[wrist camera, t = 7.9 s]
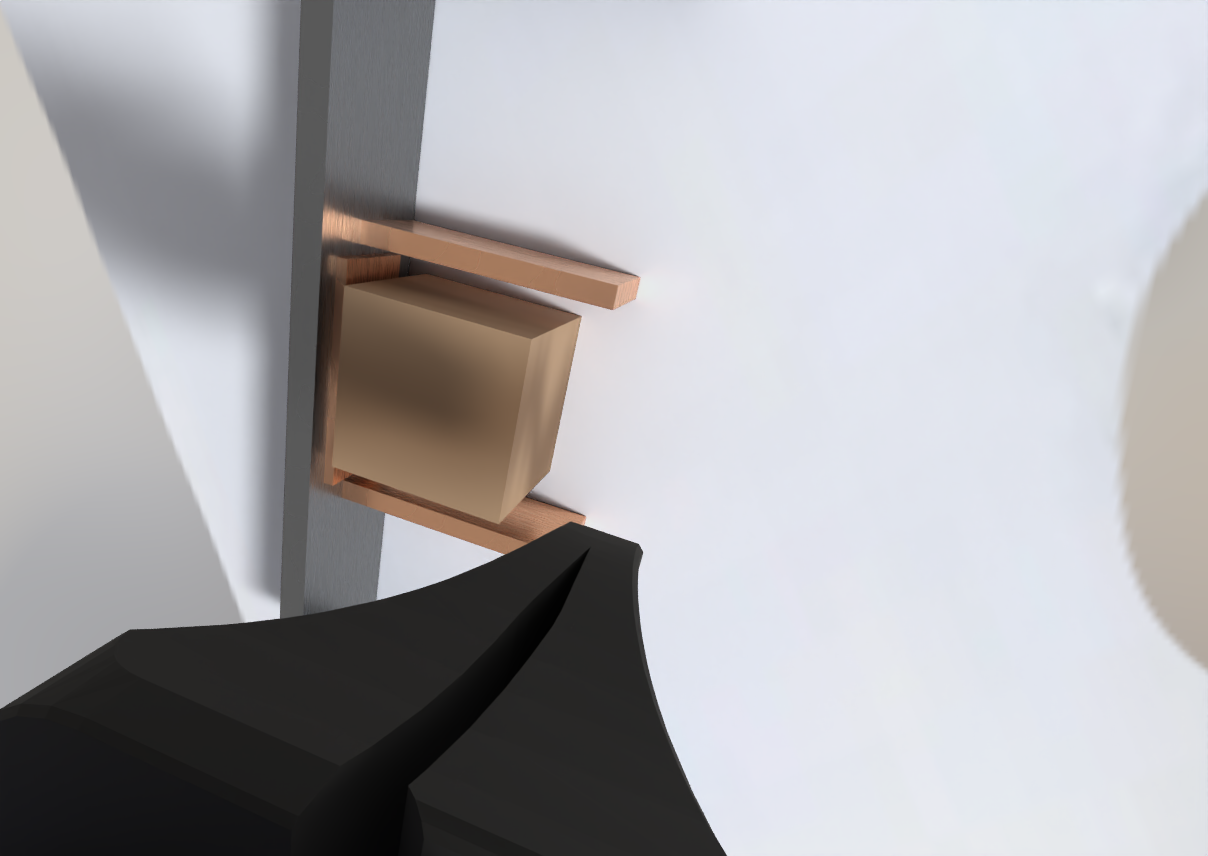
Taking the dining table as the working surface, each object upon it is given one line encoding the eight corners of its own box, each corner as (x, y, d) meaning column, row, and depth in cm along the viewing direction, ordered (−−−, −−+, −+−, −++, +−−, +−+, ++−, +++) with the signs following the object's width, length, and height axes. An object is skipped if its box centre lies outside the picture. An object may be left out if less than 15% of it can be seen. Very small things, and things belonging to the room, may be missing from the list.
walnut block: (551, 469, 20) (498, 524, 17) (411, 424, 21) (332, 466, 18) (582, 315, 18) (531, 339, 15) (428, 273, 19) (344, 285, 16)
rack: (541, 712, 23) (495, 805, 19) (353, 639, 25) (276, 712, 21) (714, -49, 15) (690, -137, 11) (416, -94, 16) (307, -186, 13)
